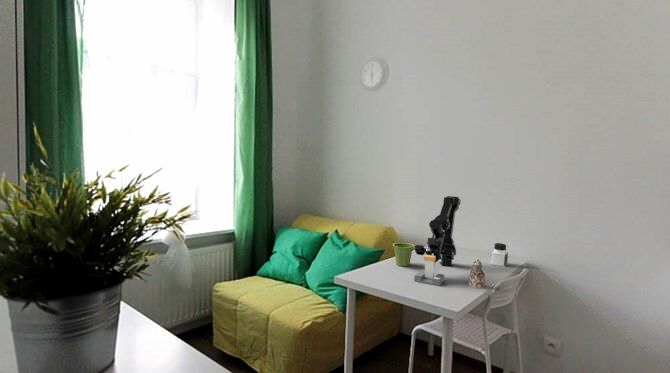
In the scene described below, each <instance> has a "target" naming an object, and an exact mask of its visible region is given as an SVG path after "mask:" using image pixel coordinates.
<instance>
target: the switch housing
mask: <svg viewBox="0 0 670 373" xmlns="http://www.w3.org/2000/svg"><path fill="white" fill-rule="evenodd" d="M413 279H414V280H413V281H414V282H416V283H422V284H427V285H432V286H437V287H440V286H441V285H442V284H443V282H445V274H443V273H436V274H435V275H434V278H428V277H425V270H419V271H418V272H417V273H415V274H414V278H413Z"/></svg>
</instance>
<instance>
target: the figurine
mask: <svg viewBox="0 0 670 373" xmlns="http://www.w3.org/2000/svg"><path fill="white" fill-rule="evenodd" d="M482 267H483V263H482V262H481V261H480V259H477V260H474V261H473V263H472V269H471V270H470V273H469V276H468V286H470V287H471V288H475V289H483V288H485V284H486V278H485V272H484V271H483V270H482V269H483V268H482Z"/></svg>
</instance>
